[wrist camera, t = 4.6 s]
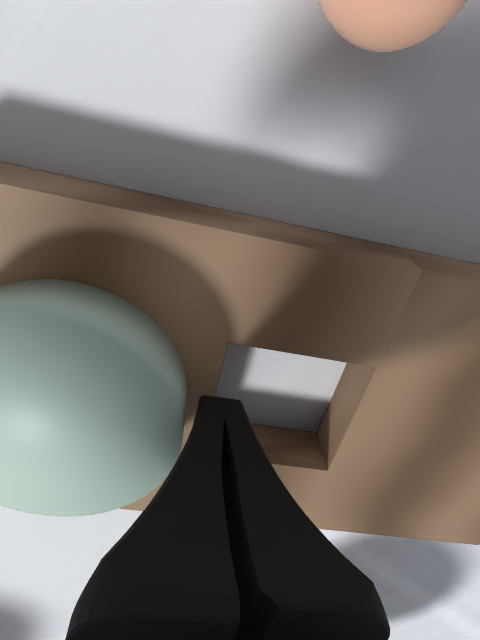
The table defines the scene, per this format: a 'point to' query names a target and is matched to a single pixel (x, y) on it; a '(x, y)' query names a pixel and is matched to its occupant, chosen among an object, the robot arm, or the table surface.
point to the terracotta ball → (389, 21)
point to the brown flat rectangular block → (289, 338)
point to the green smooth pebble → (84, 399)
